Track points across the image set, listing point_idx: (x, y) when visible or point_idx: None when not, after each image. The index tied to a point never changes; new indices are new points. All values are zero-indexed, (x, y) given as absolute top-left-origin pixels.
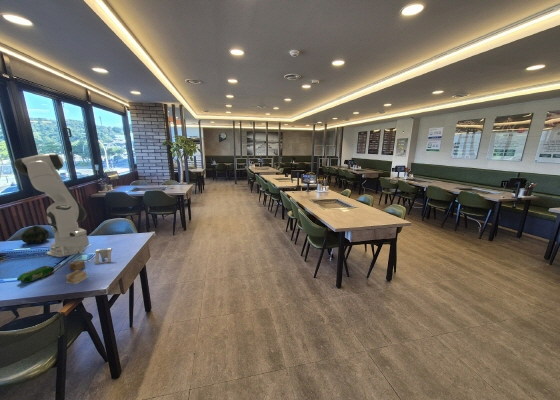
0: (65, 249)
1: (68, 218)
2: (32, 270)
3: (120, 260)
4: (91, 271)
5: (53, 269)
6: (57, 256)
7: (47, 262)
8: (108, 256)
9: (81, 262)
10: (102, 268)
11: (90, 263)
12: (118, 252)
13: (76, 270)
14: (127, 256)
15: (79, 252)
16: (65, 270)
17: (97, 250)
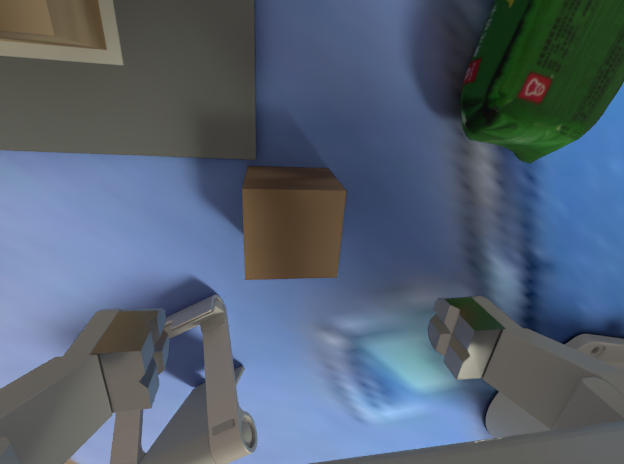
0: (517, 350)
1: None
2: None
3: None
4: (114, 191)
5: (468, 120)
6: (596, 336)
7: (613, 265)
8: None
9: (244, 249)
10: (70, 255)
11: (280, 306)
12: None
13: (49, 28)
14: (92, 435)
15: (100, 324)
16: (385, 176)
17: (225, 449)
